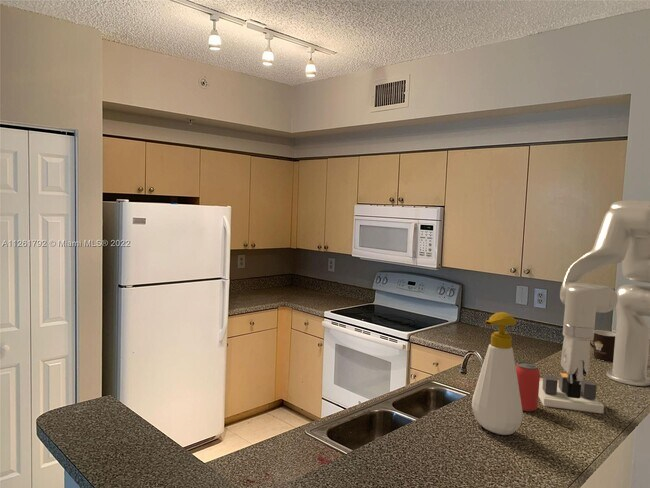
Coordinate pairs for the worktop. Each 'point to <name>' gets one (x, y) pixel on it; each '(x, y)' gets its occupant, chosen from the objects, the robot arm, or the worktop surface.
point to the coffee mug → (604, 345)
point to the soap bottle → (498, 383)
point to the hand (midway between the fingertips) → (572, 396)
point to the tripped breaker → (563, 382)
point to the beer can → (528, 385)
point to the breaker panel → (559, 399)
